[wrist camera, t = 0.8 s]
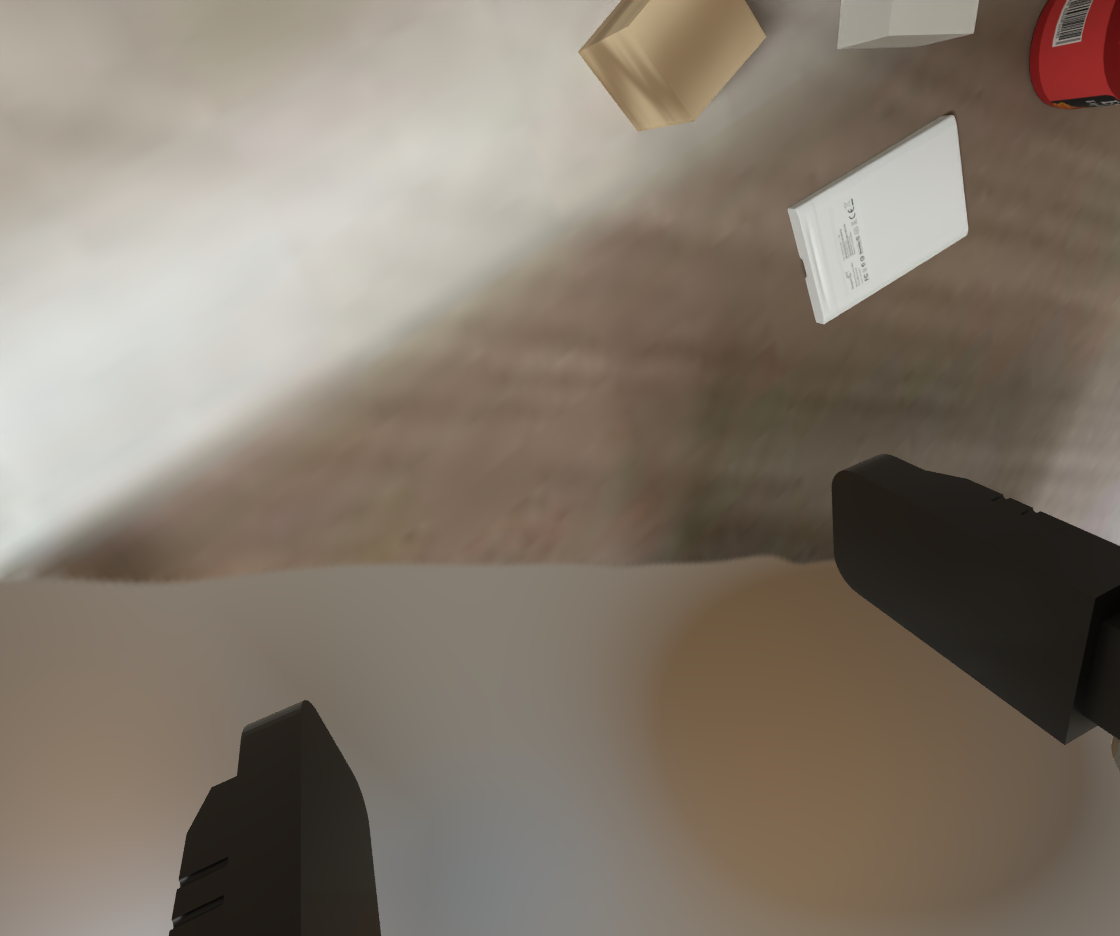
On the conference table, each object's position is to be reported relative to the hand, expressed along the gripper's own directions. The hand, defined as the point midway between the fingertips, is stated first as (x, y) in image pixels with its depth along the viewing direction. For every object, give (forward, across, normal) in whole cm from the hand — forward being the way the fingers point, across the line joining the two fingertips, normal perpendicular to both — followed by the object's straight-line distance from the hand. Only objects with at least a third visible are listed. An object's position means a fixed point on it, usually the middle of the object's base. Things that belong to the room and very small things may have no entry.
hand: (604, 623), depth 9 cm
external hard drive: (+30, -32, +4) cm, 44 cm away
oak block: (+29, -17, -8) cm, 35 cm away
